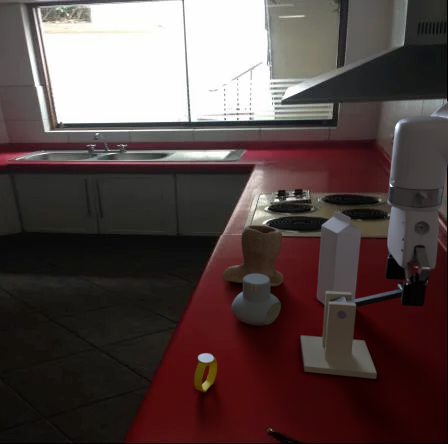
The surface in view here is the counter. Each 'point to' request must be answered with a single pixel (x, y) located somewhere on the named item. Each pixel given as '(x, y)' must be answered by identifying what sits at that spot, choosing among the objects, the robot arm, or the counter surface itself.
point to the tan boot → (257, 255)
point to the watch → (203, 361)
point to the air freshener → (256, 301)
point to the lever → (374, 297)
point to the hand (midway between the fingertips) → (402, 291)
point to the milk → (338, 256)
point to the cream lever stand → (337, 343)
